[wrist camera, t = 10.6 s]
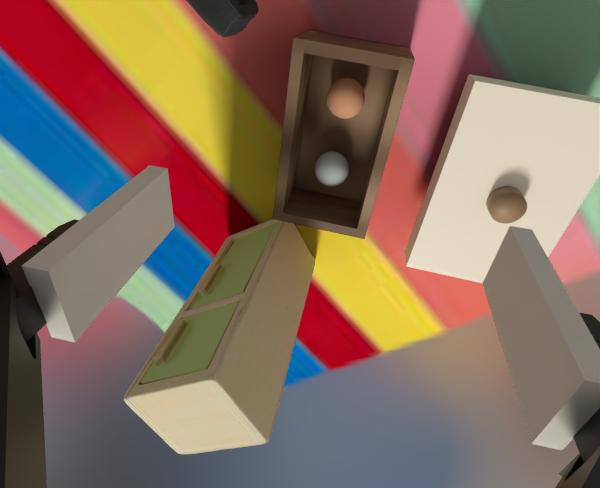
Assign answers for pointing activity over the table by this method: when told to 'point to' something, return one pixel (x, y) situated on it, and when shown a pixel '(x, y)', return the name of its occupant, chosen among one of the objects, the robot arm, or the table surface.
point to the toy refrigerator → (229, 345)
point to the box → (338, 129)
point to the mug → (225, 14)
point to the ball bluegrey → (331, 168)
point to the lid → (505, 174)
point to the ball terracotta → (345, 98)
